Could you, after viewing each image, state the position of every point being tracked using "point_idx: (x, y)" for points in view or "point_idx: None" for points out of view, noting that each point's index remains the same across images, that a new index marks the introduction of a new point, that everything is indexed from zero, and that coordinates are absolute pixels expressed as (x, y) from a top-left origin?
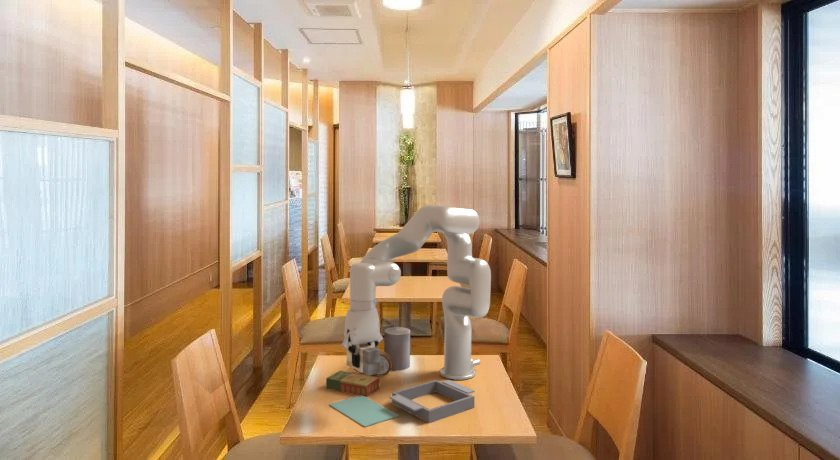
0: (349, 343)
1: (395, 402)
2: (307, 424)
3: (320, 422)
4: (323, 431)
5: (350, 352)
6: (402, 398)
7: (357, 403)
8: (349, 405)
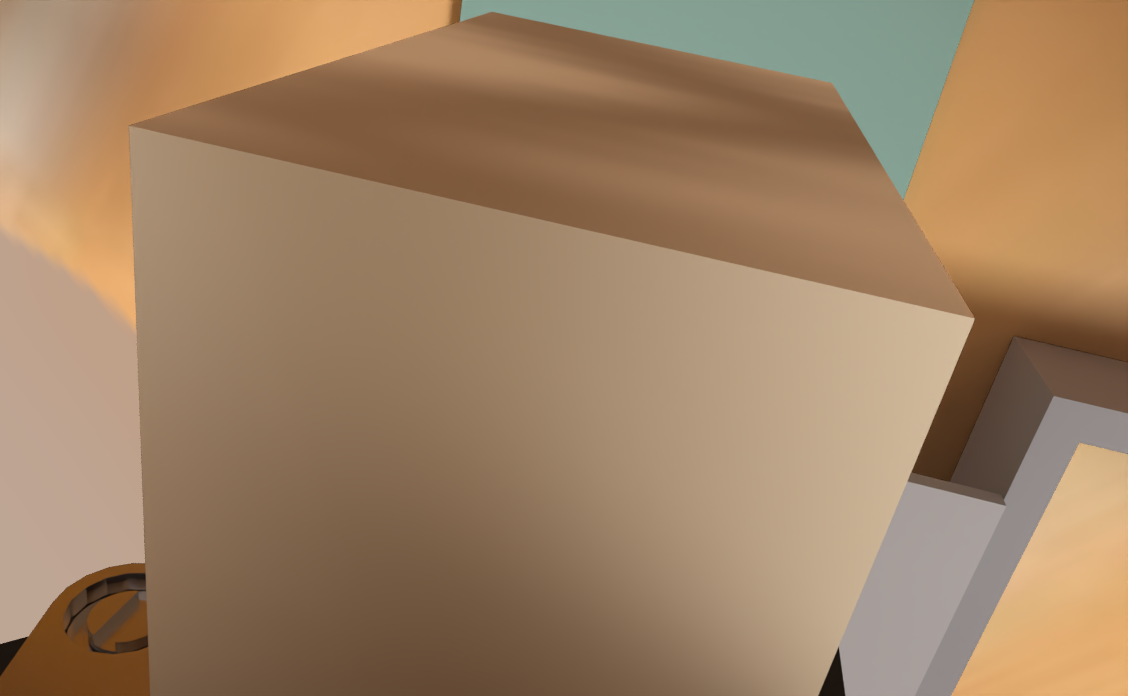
0: (166, 391)
1: (996, 409)
2: (54, 20)
3: (172, 86)
4: (109, 253)
5: (104, 577)
6: (930, 601)
7: (744, 40)
8: (637, 6)
